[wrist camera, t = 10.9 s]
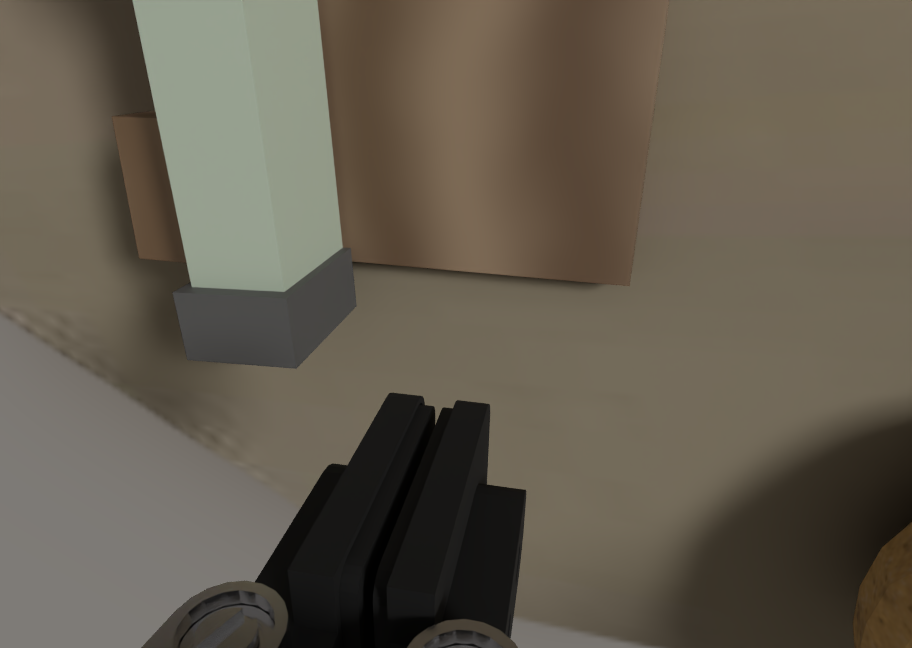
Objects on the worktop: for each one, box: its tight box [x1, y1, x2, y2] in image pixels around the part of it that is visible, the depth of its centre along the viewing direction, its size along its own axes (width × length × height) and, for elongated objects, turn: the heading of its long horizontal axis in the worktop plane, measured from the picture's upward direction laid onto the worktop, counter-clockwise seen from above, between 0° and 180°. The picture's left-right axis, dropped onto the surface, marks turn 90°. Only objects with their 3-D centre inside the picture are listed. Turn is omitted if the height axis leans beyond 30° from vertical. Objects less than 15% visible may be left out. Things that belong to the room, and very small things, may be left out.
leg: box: [133, 0, 356, 368], centre depth 18 cm, size 16×4×5 cm, turn 1°
